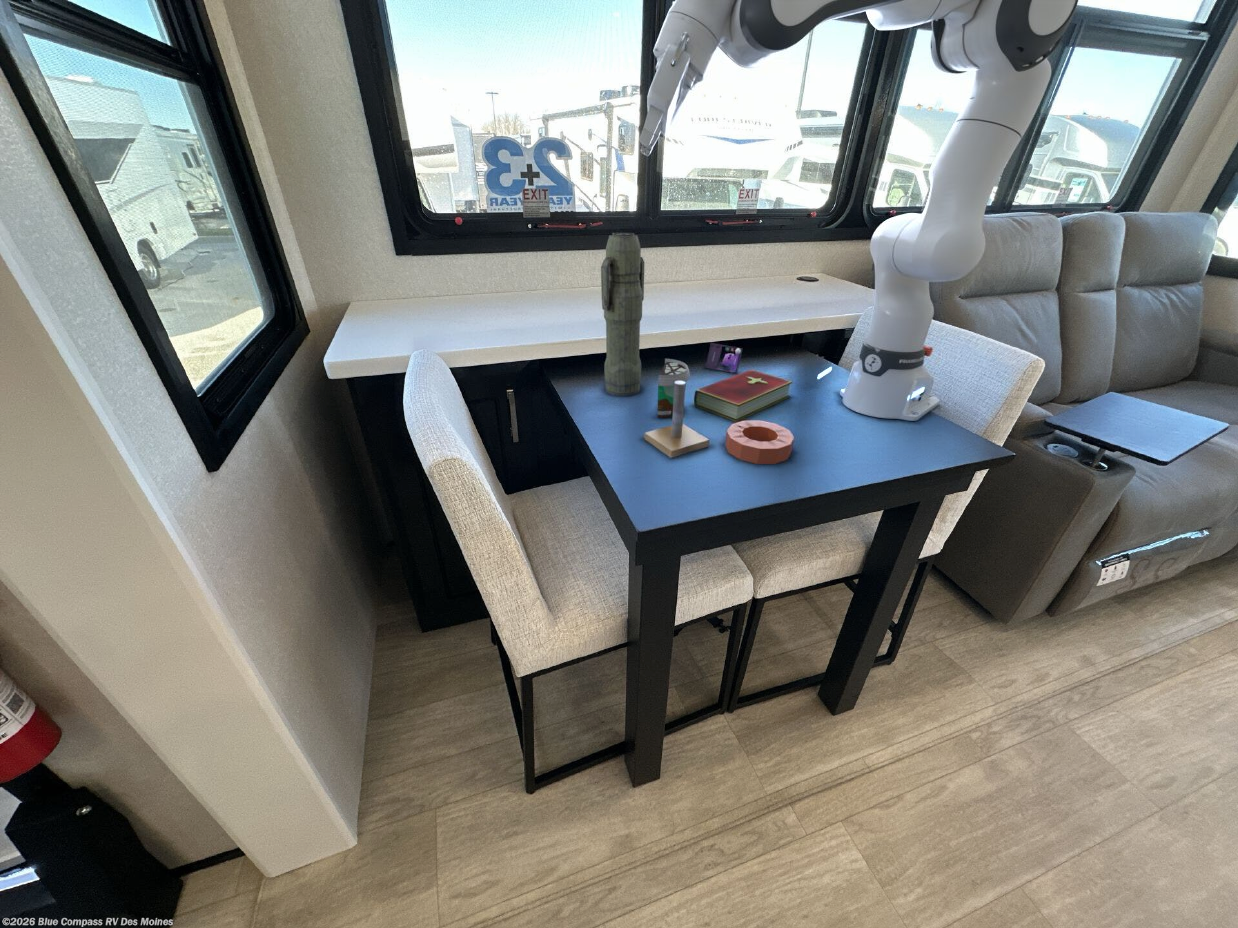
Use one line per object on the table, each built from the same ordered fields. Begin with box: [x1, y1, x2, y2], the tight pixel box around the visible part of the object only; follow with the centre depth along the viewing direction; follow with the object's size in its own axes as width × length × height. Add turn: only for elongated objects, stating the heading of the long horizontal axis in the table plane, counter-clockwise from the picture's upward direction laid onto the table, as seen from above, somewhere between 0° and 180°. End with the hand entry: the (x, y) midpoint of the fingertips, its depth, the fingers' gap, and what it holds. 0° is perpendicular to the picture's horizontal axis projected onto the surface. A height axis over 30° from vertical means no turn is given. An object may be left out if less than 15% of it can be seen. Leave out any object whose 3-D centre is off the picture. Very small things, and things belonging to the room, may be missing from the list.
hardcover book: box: [693, 369, 793, 423], centre depth 112 cm, size 12×21×4 cm, turn 132°
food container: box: [656, 358, 691, 419], centre depth 106 cm, size 12×6×10 cm, turn 168°
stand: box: [644, 381, 710, 459], centre depth 92 cm, size 9×9×12 cm
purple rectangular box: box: [705, 342, 743, 374], centre depth 133 cm, size 7×5×9 cm
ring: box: [724, 419, 795, 465], centre depth 92 cm, size 12×12×3 cm
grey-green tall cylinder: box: [600, 232, 645, 397], centre depth 111 cm, size 9×12×35 cm
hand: (643, 149), depth 81 cm, fingers open, 8 cm apart
